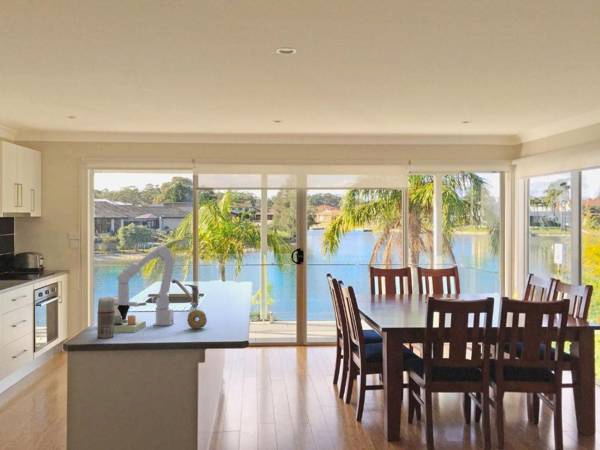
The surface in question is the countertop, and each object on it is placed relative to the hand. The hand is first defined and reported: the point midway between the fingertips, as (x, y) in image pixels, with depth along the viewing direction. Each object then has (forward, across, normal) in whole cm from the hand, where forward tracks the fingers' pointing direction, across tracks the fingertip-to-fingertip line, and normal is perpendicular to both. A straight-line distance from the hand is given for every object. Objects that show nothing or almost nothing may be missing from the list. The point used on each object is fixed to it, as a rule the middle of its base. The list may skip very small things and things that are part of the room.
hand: (123, 319), depth 299 cm
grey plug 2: (+4, 0, 0) cm, 4 cm away
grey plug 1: (+2, 0, -7) cm, 8 cm away
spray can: (+5, +1, -24) cm, 24 cm away
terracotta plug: (+1, +7, -6) cm, 9 cm away
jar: (+5, -8, +10) cm, 14 cm away
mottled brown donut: (+5, +41, 0) cm, 41 cm away
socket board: (+5, +4, -4) cm, 7 cm away
